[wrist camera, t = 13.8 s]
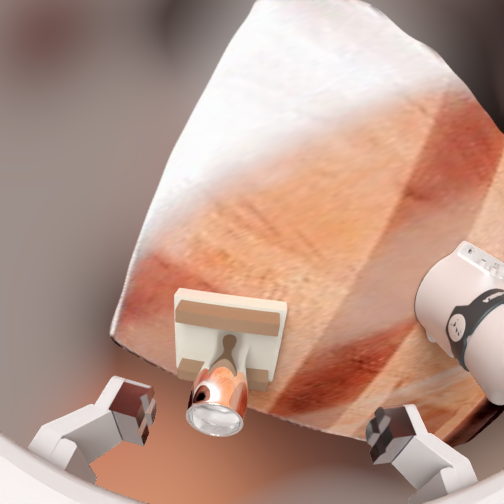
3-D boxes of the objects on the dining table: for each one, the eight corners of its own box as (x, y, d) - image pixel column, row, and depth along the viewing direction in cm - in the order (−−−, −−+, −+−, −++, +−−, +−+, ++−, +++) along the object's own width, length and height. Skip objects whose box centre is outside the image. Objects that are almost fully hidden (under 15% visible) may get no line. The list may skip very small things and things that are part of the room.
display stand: (286, 301, 42) (288, 322, 37) (272, 371, 47) (272, 394, 42) (179, 287, 42) (167, 305, 37) (180, 358, 47) (172, 379, 42)
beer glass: (220, 366, 44) (204, 440, 30) (198, 334, 42) (172, 407, 28) (260, 354, 43) (255, 432, 28) (240, 319, 41) (226, 396, 27)
